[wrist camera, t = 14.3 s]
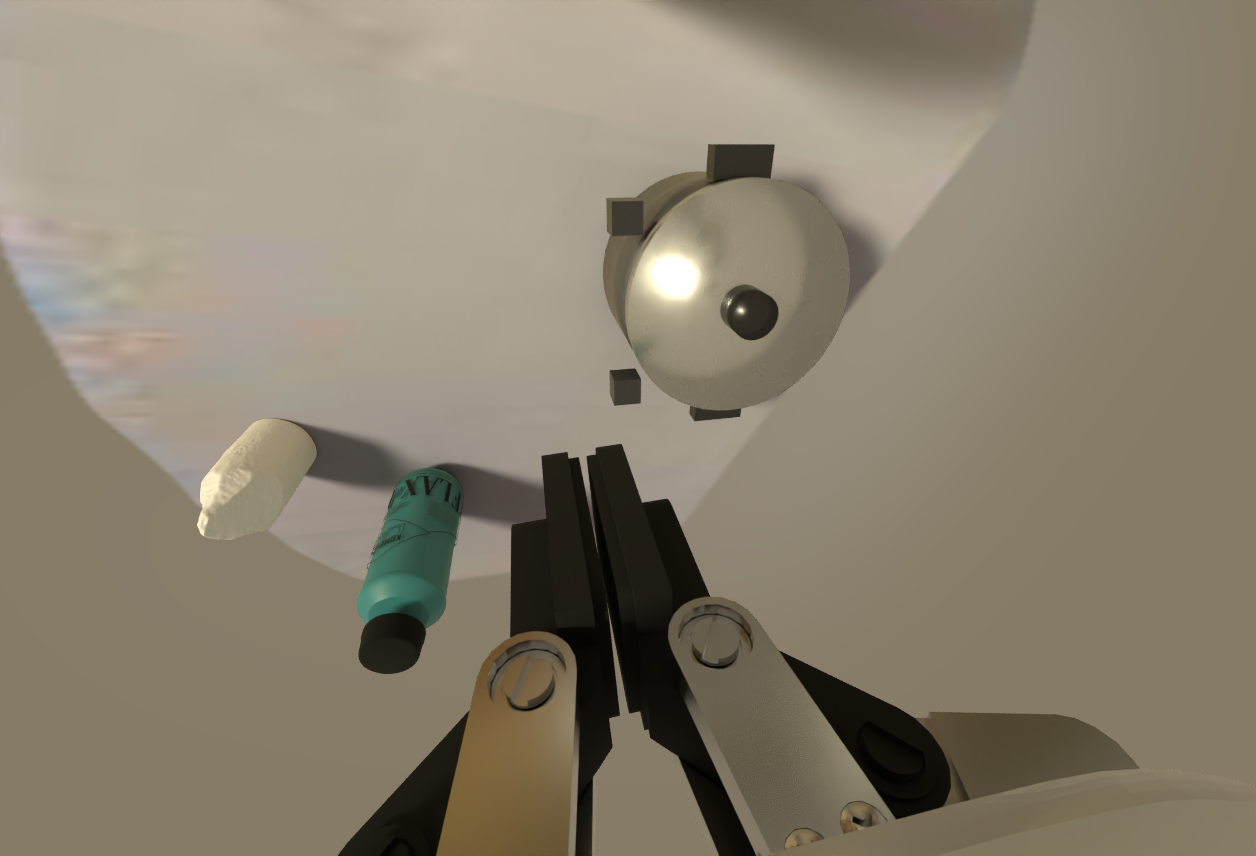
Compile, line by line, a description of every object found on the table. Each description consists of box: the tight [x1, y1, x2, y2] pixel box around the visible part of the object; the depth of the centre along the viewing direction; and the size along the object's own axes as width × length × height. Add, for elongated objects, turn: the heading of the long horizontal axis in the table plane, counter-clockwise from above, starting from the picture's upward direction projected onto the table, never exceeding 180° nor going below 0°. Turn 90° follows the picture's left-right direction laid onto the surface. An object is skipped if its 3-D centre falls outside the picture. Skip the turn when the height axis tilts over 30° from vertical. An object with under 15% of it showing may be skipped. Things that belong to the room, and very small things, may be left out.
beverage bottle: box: [357, 468, 464, 674], centre depth 42 cm, size 6×7×20 cm
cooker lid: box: [625, 177, 850, 410], centre depth 35 cm, size 16×16×4 cm
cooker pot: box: [603, 144, 775, 421], centre depth 40 cm, size 20×17×11 cm
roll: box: [197, 419, 317, 540], centre depth 41 cm, size 6×12×6 cm
